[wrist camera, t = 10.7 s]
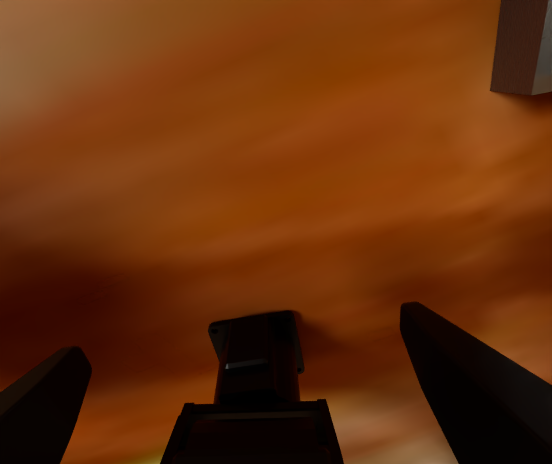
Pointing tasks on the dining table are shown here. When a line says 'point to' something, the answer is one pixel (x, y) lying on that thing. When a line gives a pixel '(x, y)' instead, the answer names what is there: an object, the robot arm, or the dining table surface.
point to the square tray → (523, 48)
